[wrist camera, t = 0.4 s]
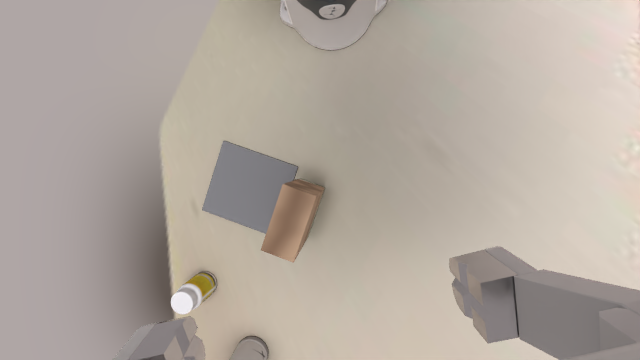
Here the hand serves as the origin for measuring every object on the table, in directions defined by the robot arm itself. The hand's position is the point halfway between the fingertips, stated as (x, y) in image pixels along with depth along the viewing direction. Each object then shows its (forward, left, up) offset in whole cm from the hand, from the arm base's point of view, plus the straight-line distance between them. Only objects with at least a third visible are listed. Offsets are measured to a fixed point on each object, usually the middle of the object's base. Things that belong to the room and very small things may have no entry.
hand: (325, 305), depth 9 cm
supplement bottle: (+16, -29, -46) cm, 56 cm away
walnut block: (+3, -8, -45) cm, 46 cm away
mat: (-1, -18, -45) cm, 49 cm away
